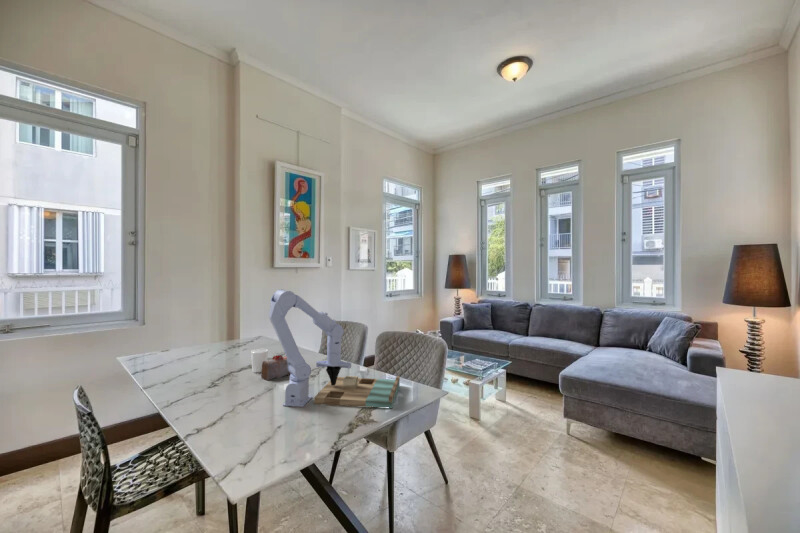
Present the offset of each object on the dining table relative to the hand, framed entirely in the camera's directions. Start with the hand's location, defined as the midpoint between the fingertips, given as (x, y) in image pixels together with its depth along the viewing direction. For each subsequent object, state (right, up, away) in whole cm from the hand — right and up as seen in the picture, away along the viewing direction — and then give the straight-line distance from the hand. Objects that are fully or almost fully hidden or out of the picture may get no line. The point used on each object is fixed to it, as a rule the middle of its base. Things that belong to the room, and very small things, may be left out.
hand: (333, 384), depth 136 cm
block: (+7, -1, -1) cm, 7 cm away
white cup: (-43, -3, +27) cm, 51 cm away
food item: (-31, -3, +20) cm, 37 cm away
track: (+11, -4, -1) cm, 12 cm away
